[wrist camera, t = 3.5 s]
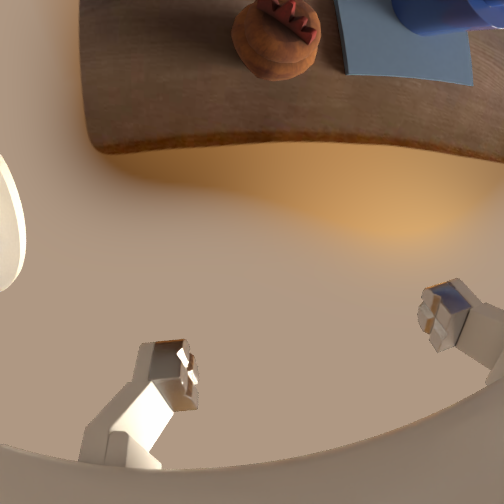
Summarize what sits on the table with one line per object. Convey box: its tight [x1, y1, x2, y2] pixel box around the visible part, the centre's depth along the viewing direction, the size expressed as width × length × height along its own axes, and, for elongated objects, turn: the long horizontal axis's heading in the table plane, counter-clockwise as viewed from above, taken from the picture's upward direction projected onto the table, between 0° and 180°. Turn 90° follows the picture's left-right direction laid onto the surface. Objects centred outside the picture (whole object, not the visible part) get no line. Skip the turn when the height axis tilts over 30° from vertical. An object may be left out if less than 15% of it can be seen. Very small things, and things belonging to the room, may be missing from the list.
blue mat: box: [334, 0, 473, 86], centre depth 20 cm, size 16×14×1 cm
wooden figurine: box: [231, 0, 321, 81], centre depth 16 cm, size 7×6×15 cm
